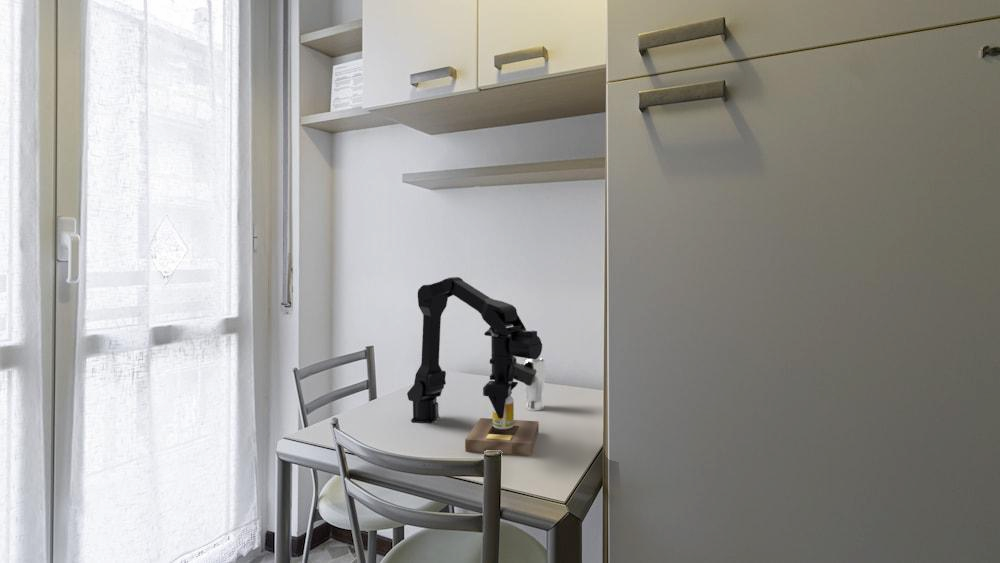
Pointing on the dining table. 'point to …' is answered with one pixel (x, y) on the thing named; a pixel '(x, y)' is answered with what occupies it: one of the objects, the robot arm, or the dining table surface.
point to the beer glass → (535, 386)
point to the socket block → (503, 437)
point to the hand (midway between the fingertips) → (503, 414)
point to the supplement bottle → (505, 416)
